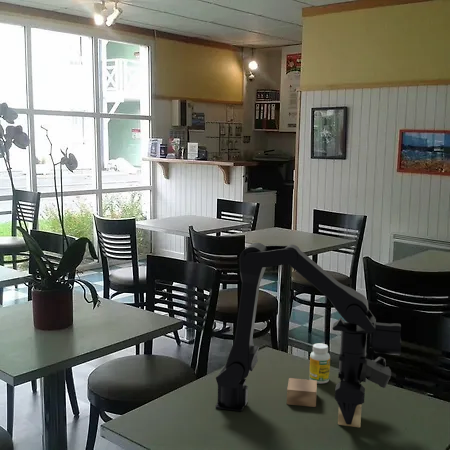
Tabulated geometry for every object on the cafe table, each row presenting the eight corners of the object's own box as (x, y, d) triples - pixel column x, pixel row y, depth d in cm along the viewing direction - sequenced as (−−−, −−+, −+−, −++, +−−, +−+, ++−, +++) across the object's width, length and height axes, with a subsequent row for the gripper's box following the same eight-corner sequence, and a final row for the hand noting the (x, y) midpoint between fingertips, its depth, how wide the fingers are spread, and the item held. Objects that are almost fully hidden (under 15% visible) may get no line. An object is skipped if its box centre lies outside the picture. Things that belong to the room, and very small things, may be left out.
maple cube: (337, 424, 131) (338, 403, 130) (339, 414, 136) (340, 394, 135) (360, 427, 130) (361, 406, 129) (360, 417, 134) (362, 397, 134)
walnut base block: (286, 405, 140) (287, 389, 140) (288, 392, 147) (289, 377, 147) (315, 407, 139) (316, 392, 139) (316, 395, 146) (316, 380, 146)
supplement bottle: (319, 374, 159) (321, 340, 157) (333, 381, 154) (335, 346, 153) (304, 378, 156) (306, 344, 154) (318, 385, 151) (320, 350, 150)
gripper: (390, 369, 119) (386, 440, 121) (389, 339, 137) (385, 401, 139) (336, 363, 122) (332, 432, 124) (341, 335, 140) (338, 395, 142)
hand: (349, 414), depth 132 cm, fingers open, 9 cm apart
